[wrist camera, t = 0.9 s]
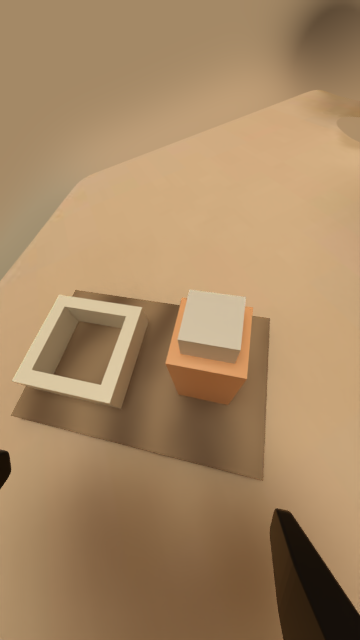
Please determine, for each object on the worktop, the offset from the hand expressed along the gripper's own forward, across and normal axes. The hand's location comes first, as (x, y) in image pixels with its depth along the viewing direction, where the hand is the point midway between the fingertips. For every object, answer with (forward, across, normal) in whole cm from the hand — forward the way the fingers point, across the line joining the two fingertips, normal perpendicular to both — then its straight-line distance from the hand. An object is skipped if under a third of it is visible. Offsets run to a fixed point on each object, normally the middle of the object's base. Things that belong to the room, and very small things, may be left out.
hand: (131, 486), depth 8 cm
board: (+15, +4, +4) cm, 16 cm away
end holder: (+14, +9, +3) cm, 17 cm away
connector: (+14, -2, +3) cm, 14 cm away
